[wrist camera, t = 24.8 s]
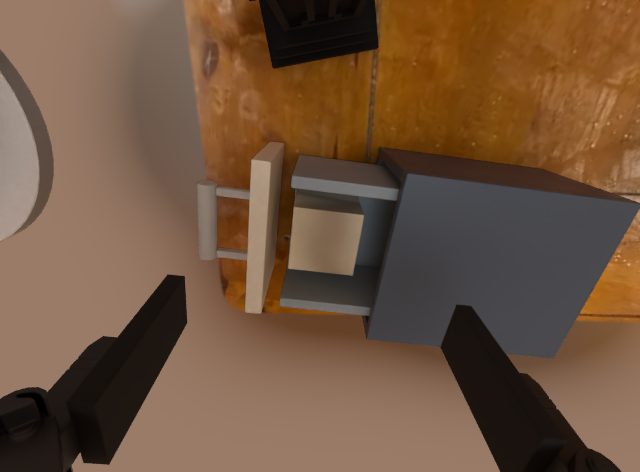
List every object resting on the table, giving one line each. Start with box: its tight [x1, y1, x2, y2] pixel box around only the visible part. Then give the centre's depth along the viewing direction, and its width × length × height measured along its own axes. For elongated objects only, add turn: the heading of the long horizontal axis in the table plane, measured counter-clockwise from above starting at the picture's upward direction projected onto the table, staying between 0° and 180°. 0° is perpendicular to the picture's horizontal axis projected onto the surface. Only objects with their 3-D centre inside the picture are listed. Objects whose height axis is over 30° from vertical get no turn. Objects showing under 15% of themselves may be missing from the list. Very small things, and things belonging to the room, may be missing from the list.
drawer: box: [197, 141, 401, 316], centre depth 25 cm, size 18×11×8 cm, turn 83°
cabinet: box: [362, 147, 640, 359], centre depth 26 cm, size 15×13×10 cm
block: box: [288, 189, 364, 276], centre depth 26 cm, size 5×5×5 cm
